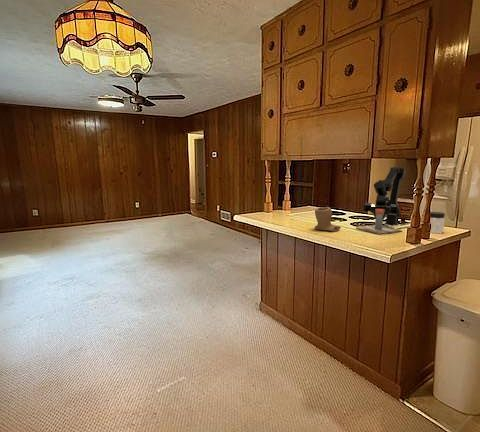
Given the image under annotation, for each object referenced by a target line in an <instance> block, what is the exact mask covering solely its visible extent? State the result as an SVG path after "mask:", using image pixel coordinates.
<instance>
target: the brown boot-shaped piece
mask: <svg viewBox="0 0 480 432" xmlns="http://www.w3.org/2000/svg"><path fill="white" fill-rule="evenodd" d="M332 210H333V209H332V208H331V207H329V206H326V207H323V206H321V207H317V208H315V210H314V217H315V219H316V222H317V225H315V226H314V229H315V230H321V231H328V232H337V231H339V230H340V229H341V228H342V227H341V226H340V225H335V224H332V223H331V222H332V216H333V211H332Z"/></svg>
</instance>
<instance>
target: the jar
mask: <svg viewBox="0 0 480 432" xmlns="http://www.w3.org/2000/svg"><path fill="white" fill-rule="evenodd" d="M430 212H431V234H439V233H441V234H443V233H444V229H445V219H446V218H445V215H446V213H445V212H443V211H430Z"/></svg>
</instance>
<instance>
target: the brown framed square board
mask: <svg viewBox="0 0 480 432" xmlns="http://www.w3.org/2000/svg"><path fill="white" fill-rule="evenodd" d="M355 230H359V231H363V232H366V233H371V234H374V235H378V236H383V235H389V234H398V233H402V232H403V230H401V229H396V228H395V227H394V226H391V225H390V226H389V225H387V224H386V225H385V224H384V225H382V230H376V229H375V224H373V225H365V226H356V227H355Z"/></svg>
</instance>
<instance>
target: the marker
mask: <svg viewBox="0 0 480 432" xmlns="http://www.w3.org/2000/svg"><path fill="white" fill-rule="evenodd" d="M384 211H385V210H384V209H381V208H377V209H376V219H375V223H374V225H375V229H376V230H382V225H383V223H384V221H383V215H384Z"/></svg>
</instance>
